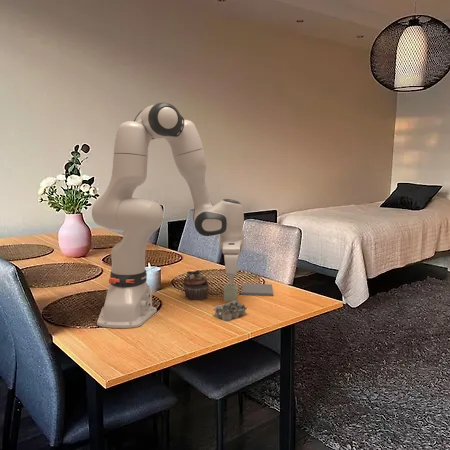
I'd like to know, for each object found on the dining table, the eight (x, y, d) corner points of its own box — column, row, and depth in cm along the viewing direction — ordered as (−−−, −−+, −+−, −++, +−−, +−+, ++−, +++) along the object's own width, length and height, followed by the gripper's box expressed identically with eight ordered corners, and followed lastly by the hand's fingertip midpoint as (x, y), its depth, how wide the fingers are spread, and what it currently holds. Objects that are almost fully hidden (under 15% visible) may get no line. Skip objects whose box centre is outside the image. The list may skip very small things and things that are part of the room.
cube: (237, 301, 168) (237, 288, 167) (223, 301, 168) (223, 288, 168) (237, 297, 173) (237, 284, 172) (224, 297, 173) (224, 284, 173)
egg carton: (225, 323, 148) (225, 310, 147) (211, 316, 154) (211, 304, 153) (249, 315, 155) (249, 303, 154) (234, 309, 161) (234, 298, 160)
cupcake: (191, 303, 166) (191, 276, 164) (179, 295, 174) (179, 270, 172) (213, 298, 171) (214, 272, 169) (201, 291, 179) (201, 267, 177)
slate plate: (273, 296, 175) (273, 293, 175) (241, 295, 175) (241, 292, 175) (271, 286, 187) (271, 284, 186) (242, 285, 187) (242, 283, 187)
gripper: (224, 237, 178) (224, 271, 181) (222, 250, 158) (222, 288, 161) (240, 237, 178) (240, 271, 181) (240, 250, 158) (240, 288, 161)
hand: (231, 279), depth 171 cm, fingers open, 8 cm apart
